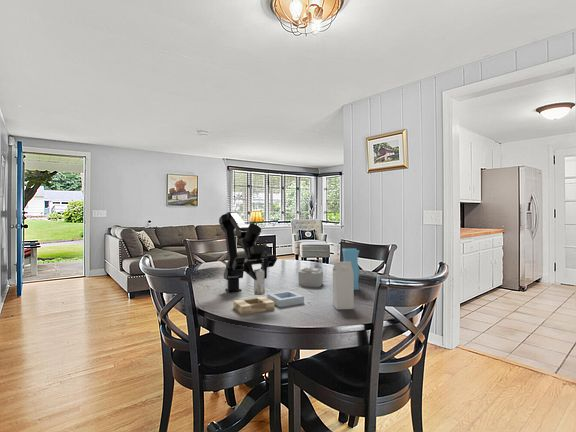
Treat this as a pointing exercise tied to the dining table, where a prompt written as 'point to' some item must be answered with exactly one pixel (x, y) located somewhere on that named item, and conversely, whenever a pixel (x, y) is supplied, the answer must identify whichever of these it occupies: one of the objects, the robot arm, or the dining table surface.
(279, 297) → the seat block
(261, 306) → the tan rectangular frame
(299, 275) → the lumpy-topped squat cylinder
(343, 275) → the milk carton
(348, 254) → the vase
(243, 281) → the dining table surface
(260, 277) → the steel axle
